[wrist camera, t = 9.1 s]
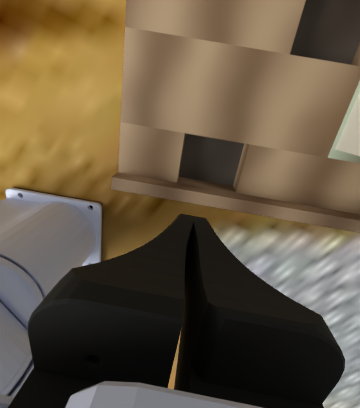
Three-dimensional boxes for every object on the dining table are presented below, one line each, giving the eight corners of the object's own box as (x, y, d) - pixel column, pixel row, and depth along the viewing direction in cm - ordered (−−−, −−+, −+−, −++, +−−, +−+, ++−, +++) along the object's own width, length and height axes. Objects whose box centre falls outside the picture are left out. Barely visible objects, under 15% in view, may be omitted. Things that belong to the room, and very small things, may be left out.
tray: (124, 177, 21) (111, 189, 18) (138, -56, 15) (122, -102, 11) (357, 217, 21) (387, 237, 18) (473, -1, 14) (552, -33, 11)
